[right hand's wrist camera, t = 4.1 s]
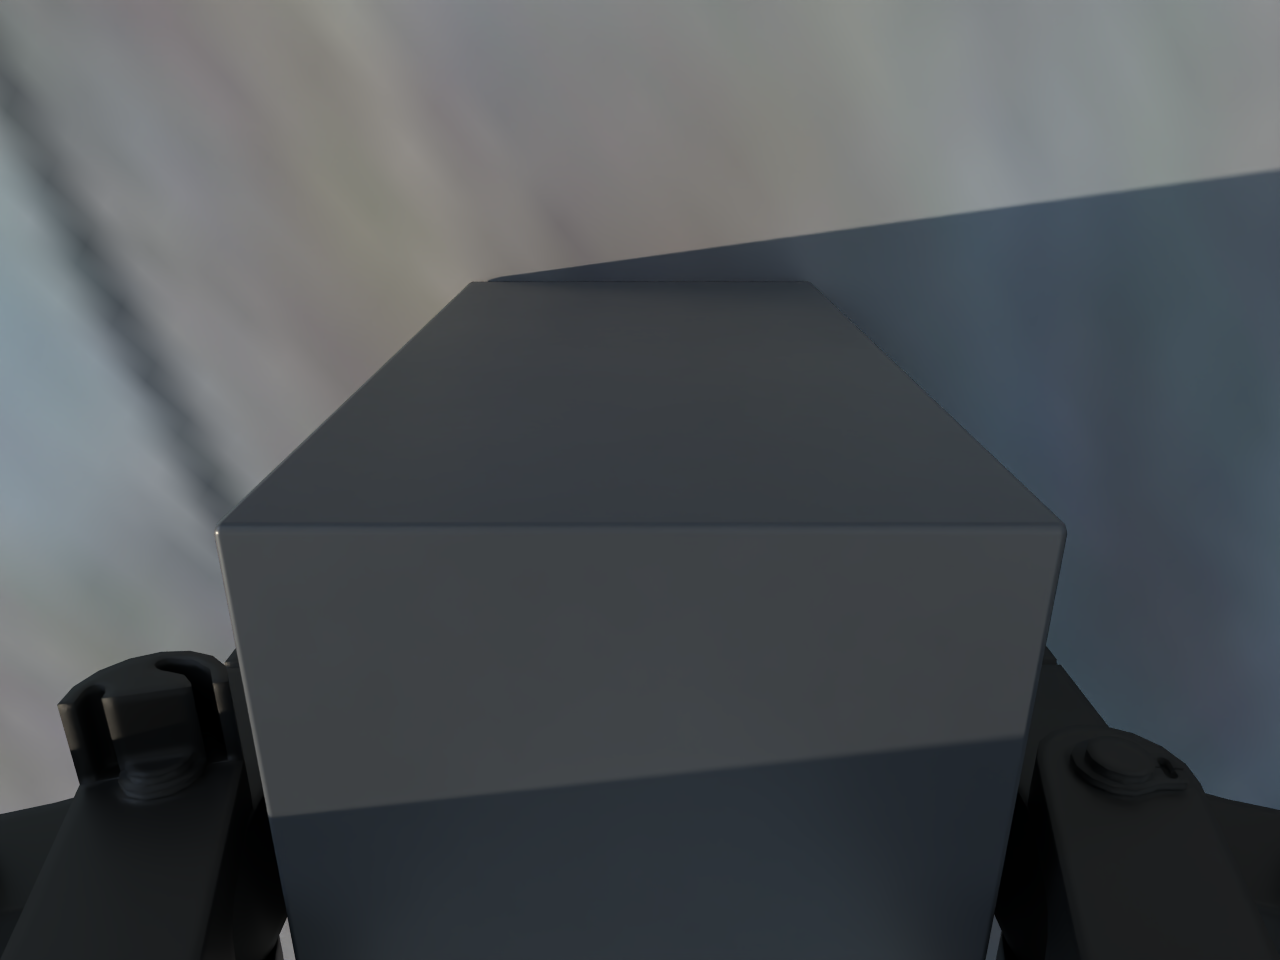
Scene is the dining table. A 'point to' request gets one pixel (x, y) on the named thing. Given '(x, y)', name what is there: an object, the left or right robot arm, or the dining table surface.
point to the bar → (640, 640)
